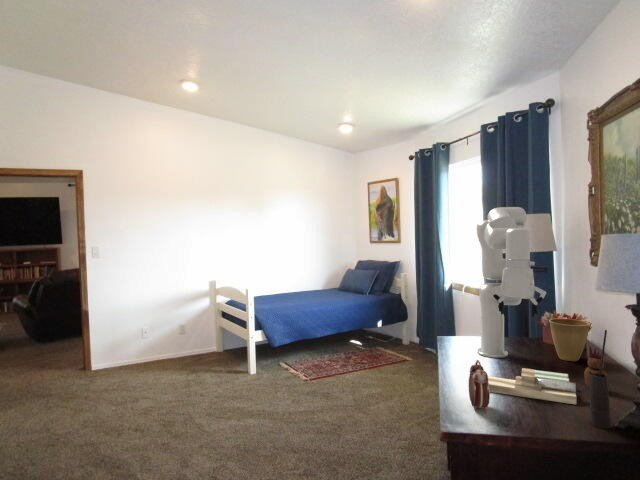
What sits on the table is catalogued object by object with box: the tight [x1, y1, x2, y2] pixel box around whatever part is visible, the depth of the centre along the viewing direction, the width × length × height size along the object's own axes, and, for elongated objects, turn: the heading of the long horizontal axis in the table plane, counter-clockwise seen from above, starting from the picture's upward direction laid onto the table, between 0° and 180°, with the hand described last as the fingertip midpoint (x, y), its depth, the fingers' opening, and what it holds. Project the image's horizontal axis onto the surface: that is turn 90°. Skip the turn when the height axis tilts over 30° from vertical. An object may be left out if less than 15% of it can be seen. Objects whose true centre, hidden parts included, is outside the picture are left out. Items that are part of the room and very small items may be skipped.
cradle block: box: [534, 369, 570, 382], centre depth 153 cm, size 7×11×4 cm, turn 63°
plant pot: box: [549, 318, 591, 362], centre depth 186 cm, size 15×15×16 cm
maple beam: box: [488, 367, 577, 405], centre depth 149 cm, size 8×28×7 cm, turn 64°
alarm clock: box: [468, 359, 491, 413], centre depth 137 cm, size 11×5×15 cm, turn 170°
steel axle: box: [535, 378, 577, 393], centre depth 146 cm, size 16×3×3 cm, turn 64°
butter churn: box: [588, 329, 612, 430], centre depth 125 cm, size 9×10×28 cm
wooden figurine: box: [583, 345, 609, 390], centre depth 151 cm, size 7×6×15 cm
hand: (517, 315), depth 148 cm, fingers open, 9 cm apart
